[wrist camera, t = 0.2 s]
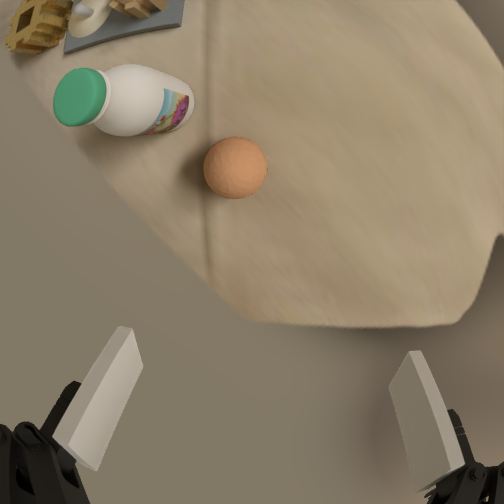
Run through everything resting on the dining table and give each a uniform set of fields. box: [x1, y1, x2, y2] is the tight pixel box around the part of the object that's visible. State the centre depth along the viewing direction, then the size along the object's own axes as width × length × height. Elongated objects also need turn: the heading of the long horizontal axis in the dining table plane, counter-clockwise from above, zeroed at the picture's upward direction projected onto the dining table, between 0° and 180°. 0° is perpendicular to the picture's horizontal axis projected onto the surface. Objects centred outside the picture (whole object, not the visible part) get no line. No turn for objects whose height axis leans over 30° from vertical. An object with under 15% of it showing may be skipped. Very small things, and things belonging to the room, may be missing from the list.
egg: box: [203, 137, 267, 199], centre depth 31 cm, size 7×7×8 cm
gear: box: [5, 0, 73, 54], centre depth 21 cm, size 10×10×8 cm
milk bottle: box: [53, 64, 194, 136], centre depth 23 cm, size 8×8×20 cm
